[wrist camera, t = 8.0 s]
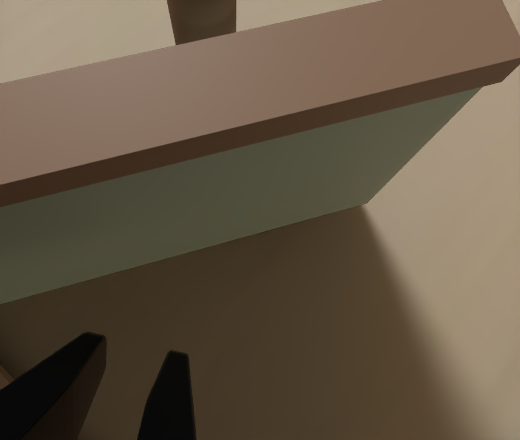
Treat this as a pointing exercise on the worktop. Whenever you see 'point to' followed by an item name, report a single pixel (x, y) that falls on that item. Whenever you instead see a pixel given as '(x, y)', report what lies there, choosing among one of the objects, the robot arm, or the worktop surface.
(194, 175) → the gate
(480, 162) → the worktop surface
